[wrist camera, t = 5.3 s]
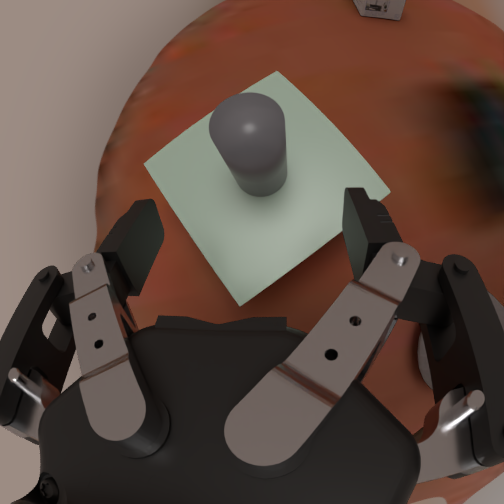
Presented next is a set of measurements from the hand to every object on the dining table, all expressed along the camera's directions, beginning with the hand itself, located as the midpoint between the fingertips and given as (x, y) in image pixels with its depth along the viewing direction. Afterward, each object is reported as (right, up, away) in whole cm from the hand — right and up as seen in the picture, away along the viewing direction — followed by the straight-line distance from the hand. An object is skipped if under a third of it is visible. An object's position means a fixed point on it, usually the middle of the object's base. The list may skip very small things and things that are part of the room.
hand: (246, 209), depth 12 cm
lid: (+1, +4, +10) cm, 11 cm away
